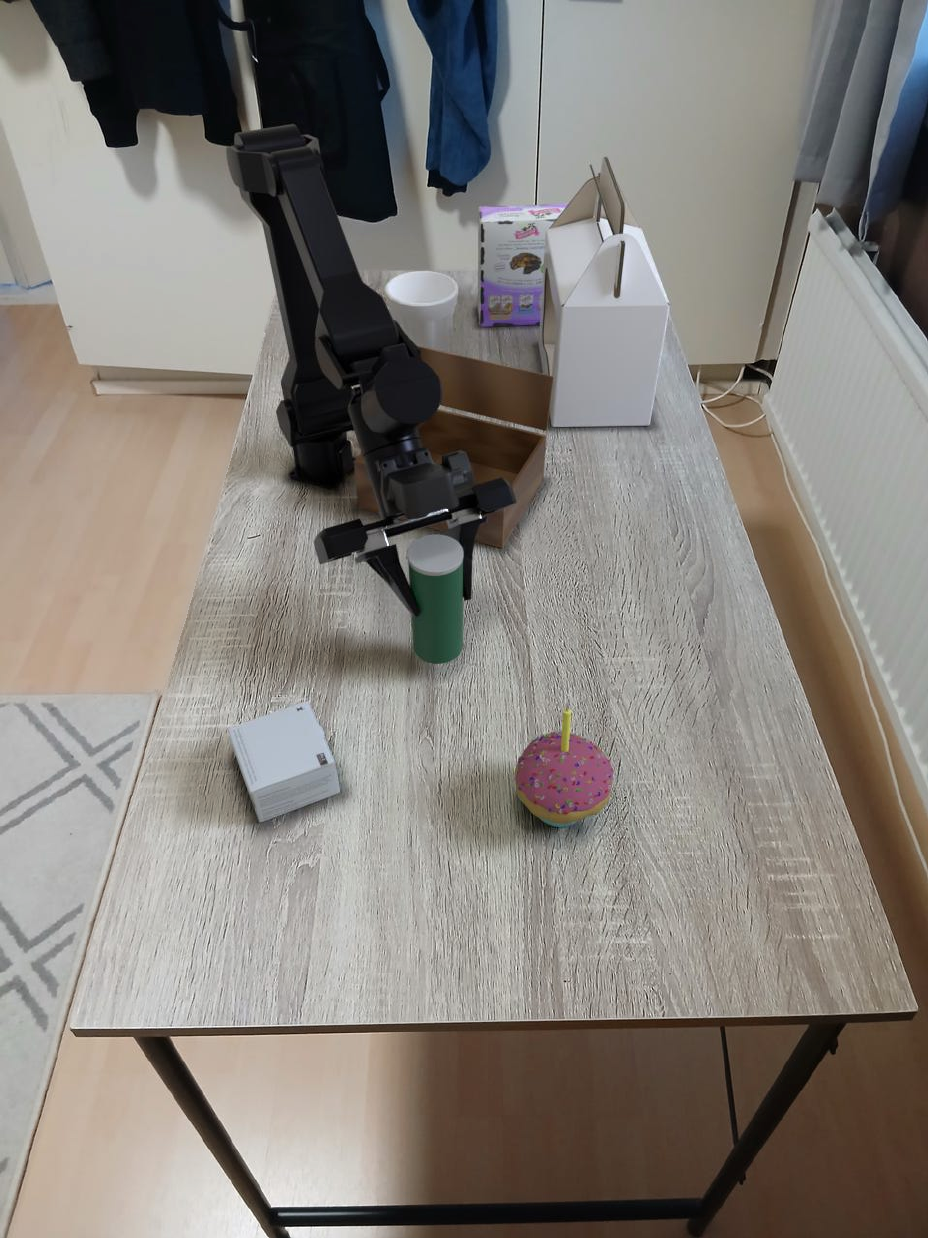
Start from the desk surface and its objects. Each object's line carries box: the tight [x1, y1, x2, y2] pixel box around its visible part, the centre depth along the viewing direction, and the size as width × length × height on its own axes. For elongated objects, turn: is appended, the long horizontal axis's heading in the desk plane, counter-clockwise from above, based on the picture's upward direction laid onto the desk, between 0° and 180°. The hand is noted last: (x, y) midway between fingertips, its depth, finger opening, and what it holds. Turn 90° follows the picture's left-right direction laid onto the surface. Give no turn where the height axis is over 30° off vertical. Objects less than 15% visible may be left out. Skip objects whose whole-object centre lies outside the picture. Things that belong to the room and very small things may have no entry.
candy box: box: [477, 203, 569, 328], centre depth 139 cm, size 14×6×16 cm, turn 93°
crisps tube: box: [406, 533, 464, 665], centre depth 88 cm, size 5×5×12 cm
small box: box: [227, 700, 341, 823], centre depth 83 cm, size 8×8×5 cm
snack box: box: [353, 408, 548, 549], centre depth 112 cm, size 19×14×7 cm
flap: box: [417, 346, 554, 432], centre depth 111 cm, size 19×7×1 cm
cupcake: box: [514, 701, 615, 828], centre depth 79 cm, size 9×8×12 cm
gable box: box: [538, 156, 671, 428], centre depth 122 cm, size 22×13×28 cm, turn 1°
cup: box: [384, 270, 459, 353], centre depth 129 cm, size 10×10×13 cm
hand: (442, 608), depth 87 cm, fingers closed on crisps tube, 5 cm apart
